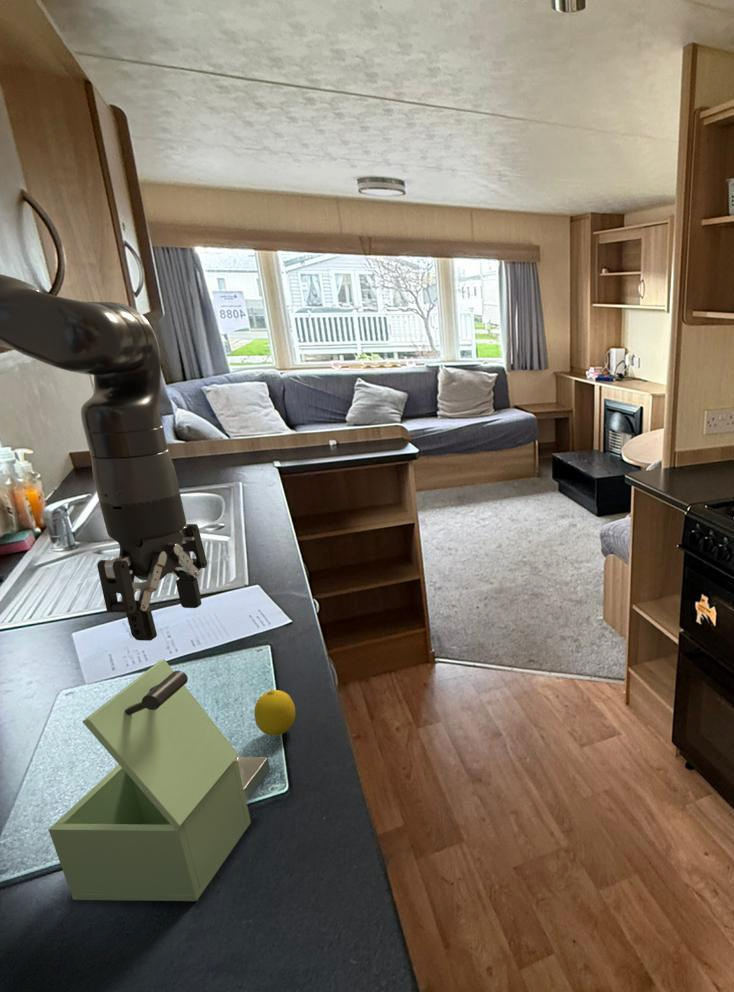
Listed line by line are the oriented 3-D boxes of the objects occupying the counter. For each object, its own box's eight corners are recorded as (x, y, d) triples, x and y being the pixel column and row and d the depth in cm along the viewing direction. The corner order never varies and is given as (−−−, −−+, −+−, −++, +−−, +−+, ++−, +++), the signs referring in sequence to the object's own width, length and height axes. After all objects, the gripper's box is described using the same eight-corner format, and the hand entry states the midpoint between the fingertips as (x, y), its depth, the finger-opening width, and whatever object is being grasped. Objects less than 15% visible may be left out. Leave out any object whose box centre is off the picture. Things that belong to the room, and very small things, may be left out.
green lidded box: (72, 900, 72) (47, 829, 69) (143, 821, 83) (125, 757, 80) (196, 901, 72) (177, 830, 69) (251, 822, 83) (237, 758, 80)
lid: (81, 721, 64) (121, 703, 63) (158, 661, 75) (193, 645, 74) (173, 828, 69) (212, 812, 68) (233, 756, 80) (267, 742, 79)
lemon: (261, 751, 97) (252, 705, 94) (257, 731, 101) (248, 687, 98) (301, 739, 99) (293, 694, 97) (296, 720, 104) (288, 677, 101)
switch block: (157, 809, 85) (150, 784, 84) (193, 769, 93) (187, 745, 91) (241, 810, 85) (235, 785, 84) (270, 769, 93) (265, 746, 91)
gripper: (149, 476, 79) (176, 597, 85) (54, 509, 66) (94, 650, 71) (210, 477, 79) (233, 598, 85) (127, 511, 66) (162, 652, 71)
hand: (170, 622), depth 78 cm, fingers open, 8 cm apart
